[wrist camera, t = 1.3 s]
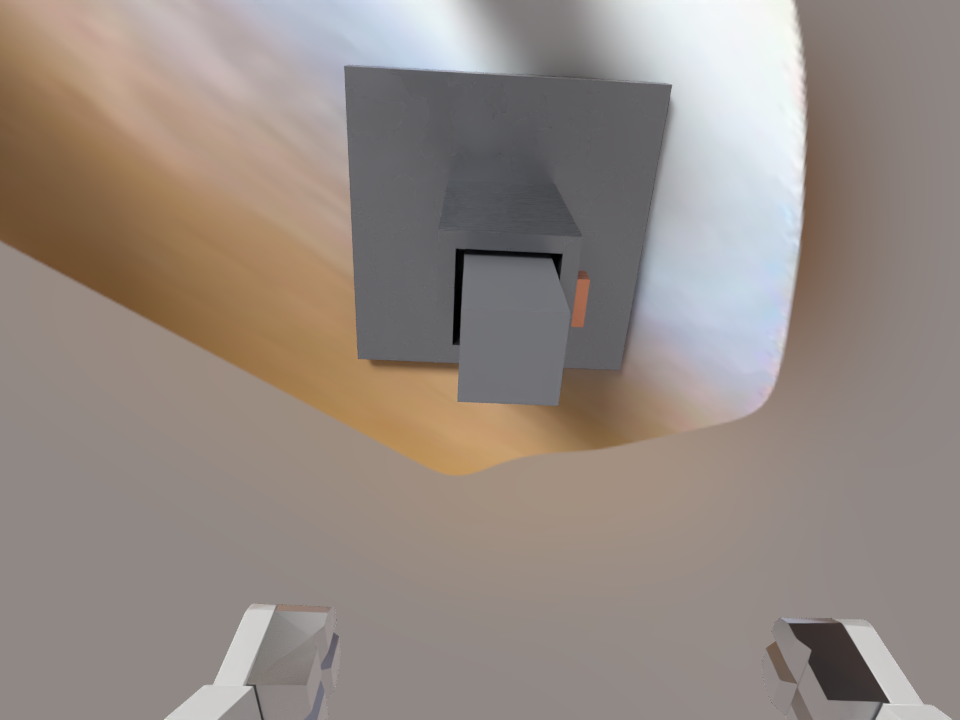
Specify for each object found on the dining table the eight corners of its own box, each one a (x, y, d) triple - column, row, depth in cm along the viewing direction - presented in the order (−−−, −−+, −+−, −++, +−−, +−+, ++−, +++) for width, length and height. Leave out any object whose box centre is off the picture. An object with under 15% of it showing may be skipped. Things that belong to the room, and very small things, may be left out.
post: (463, 268, 38) (454, 403, 24) (465, 201, 36) (458, 305, 22) (529, 271, 38) (560, 408, 24) (536, 205, 36) (573, 310, 22)
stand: (361, 348, 43) (323, 450, 32) (349, 65, 35) (292, 76, 24) (615, 360, 43) (660, 464, 33) (664, 82, 35) (746, 102, 24)
